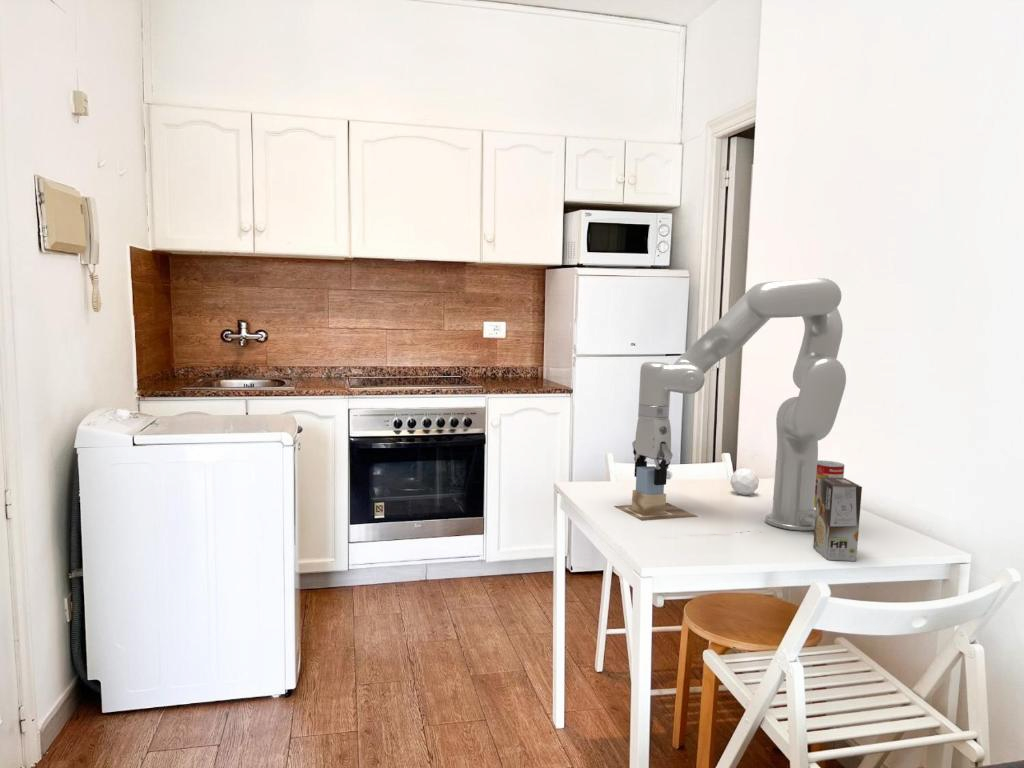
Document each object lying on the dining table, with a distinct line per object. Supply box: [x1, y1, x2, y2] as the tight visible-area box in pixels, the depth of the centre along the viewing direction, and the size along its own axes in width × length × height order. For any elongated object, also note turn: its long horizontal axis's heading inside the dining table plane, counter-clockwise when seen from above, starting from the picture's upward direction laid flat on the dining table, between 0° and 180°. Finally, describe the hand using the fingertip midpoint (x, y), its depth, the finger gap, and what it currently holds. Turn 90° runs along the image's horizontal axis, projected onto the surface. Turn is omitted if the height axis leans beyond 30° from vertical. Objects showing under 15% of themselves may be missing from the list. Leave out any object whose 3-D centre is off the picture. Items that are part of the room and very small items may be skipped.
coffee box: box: [812, 477, 863, 562], centre depth 162 cm, size 9×6×16 cm
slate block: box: [635, 465, 665, 495], centre depth 187 cm, size 5×5×6 cm
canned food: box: [814, 459, 845, 508], centre depth 206 cm, size 8×8×12 cm
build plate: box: [613, 502, 699, 522], centre depth 189 cm, size 14×16×1 cm
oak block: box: [631, 489, 667, 515], centre depth 188 cm, size 6×6×5 cm
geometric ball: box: [730, 467, 760, 496], centre depth 217 cm, size 8×8×8 cm
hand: (649, 480), depth 188 cm, fingers open, 8 cm apart
